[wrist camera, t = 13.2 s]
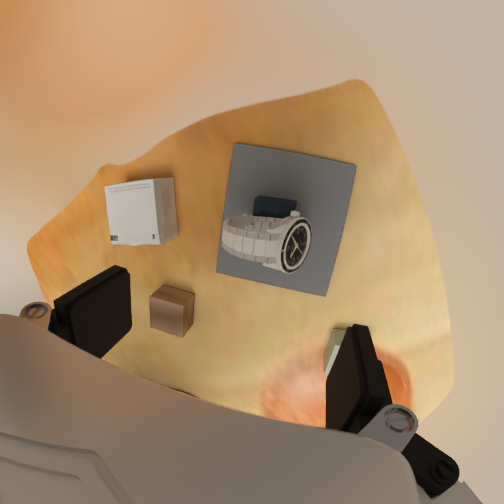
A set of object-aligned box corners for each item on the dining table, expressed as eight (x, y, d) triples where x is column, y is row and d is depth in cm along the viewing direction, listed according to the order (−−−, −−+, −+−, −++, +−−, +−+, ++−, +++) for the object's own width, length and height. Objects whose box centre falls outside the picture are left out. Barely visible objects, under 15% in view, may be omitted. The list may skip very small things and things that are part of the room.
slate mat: (325, 294, 34) (325, 296, 34) (217, 270, 36) (216, 272, 36) (355, 166, 29) (356, 165, 29) (235, 143, 31) (234, 143, 30)
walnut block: (193, 323, 40) (182, 337, 36) (163, 314, 40) (150, 327, 37) (195, 293, 38) (183, 306, 34) (163, 284, 39) (149, 296, 35)
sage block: (356, 361, 36) (359, 379, 33) (323, 356, 37) (323, 374, 33) (367, 333, 35) (372, 350, 31) (333, 327, 35) (335, 344, 32)
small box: (174, 176, 34) (154, 178, 29) (180, 236, 36) (161, 246, 31) (126, 181, 35) (103, 185, 31) (132, 236, 38) (110, 246, 33)
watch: (306, 250, 32) (304, 289, 22) (239, 239, 34) (208, 271, 23) (314, 202, 31) (317, 220, 20) (244, 192, 32) (213, 204, 22)
